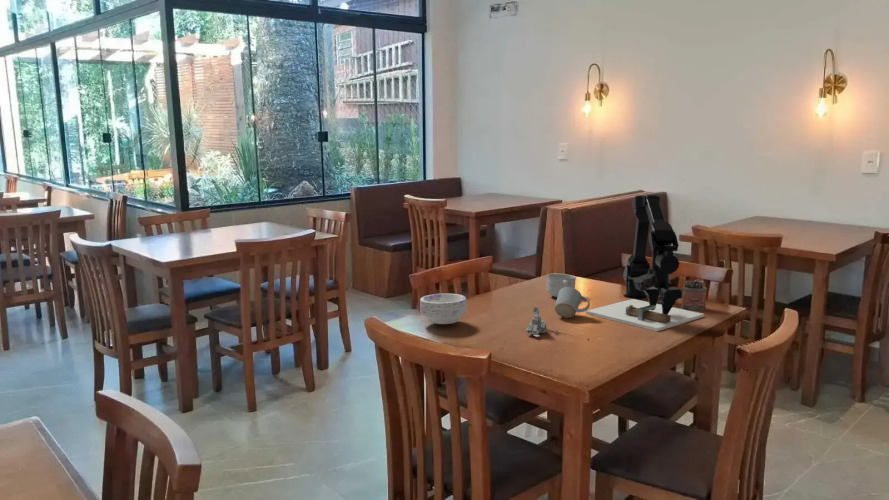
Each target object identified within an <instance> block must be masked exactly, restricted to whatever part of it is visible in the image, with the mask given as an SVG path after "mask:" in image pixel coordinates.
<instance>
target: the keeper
mask: <svg viewBox="0 0 889 500" xmlns="http://www.w3.org/2000/svg"><path fill="white" fill-rule="evenodd" d="M655 308H656V305H649V306H645V307H642V308H638V320H641V321H643V320H645V311H648V310H652V309H655Z"/></svg>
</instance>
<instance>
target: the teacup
mask: <svg viewBox="0 0 889 500" xmlns="http://www.w3.org/2000/svg"><path fill="white" fill-rule="evenodd" d="M576 279H577V277H576V276H575V275H572V274H566V273H549V274H547V275H546V290H547V292H548V293H549V294H550V296H552V297H555V298H557V297H558V294H559V291H560V289H562V288H564V287H571V288H574V289H576Z"/></svg>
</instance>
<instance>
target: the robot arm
mask: <svg viewBox="0 0 889 500" xmlns="http://www.w3.org/2000/svg"><path fill="white" fill-rule="evenodd" d="M660 198H661V197H660V195H657V194H645V195H644V194H643V195H642V194H641V195H638V194H637V195H635V196H634V197H633V198H632V199H631V207H632V210H633V213H634V215H635V216H636V221H635V232H634V242H633V249H632V250H633V252H632V253H631V255H630V256H629V258H627V264H626V265H625V267H624V270H623V274H622V277H623V280H624V281H625V282H626V289H625V294H623V296H624V297H627V298H630V299H636V300H640V299H642V298H647V300H648V301H647V302H649V305H656V304H658V301H659V300H660V302H661V305H662V314H666V315H668V313H669V311H670V310H671V308H672V307H673V306H674V305H675V303H676V302H677V301H678V300H679V299H683V290H681V289H680V288H678V287H677V286H672V285H673V283H672V282H671V281H670V275H672V274H673V273H675V272H676V271H677V270H678V269H679V267H680V261H679V259H678V258H677V256H676V255H674V252H678V251H679V246H680V245H679V241H678V237H677V234H676V232H675V230H674V229H673V227H672V225H671V224H670V223H669V222H667V220H666V219H665V216H664V213H663V209H662V207H661V203H660V202H661V201H660V200H661V199H660ZM649 230H650V231H649ZM648 242H649V246H650V250H651V266H650V263H649V261H648V259H647V256H646V255H647V247H648ZM652 310H655V309H652Z"/></svg>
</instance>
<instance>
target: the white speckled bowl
mask: <svg viewBox="0 0 889 500" xmlns="http://www.w3.org/2000/svg"><path fill="white" fill-rule="evenodd" d="M419 302H420V303H419V304H420V309H419V310H420V314H421V315H423V316H425V317H426V319H427V321H428V322H429V323H431V324H435V325H449V324H454V323H457V322H458V321H460V318H461V316H462V315H465V314H466V313H467V297H466V296H465V295H463V294H458V293H433V294H429V295H424V296H422V297H420V299H419Z"/></svg>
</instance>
